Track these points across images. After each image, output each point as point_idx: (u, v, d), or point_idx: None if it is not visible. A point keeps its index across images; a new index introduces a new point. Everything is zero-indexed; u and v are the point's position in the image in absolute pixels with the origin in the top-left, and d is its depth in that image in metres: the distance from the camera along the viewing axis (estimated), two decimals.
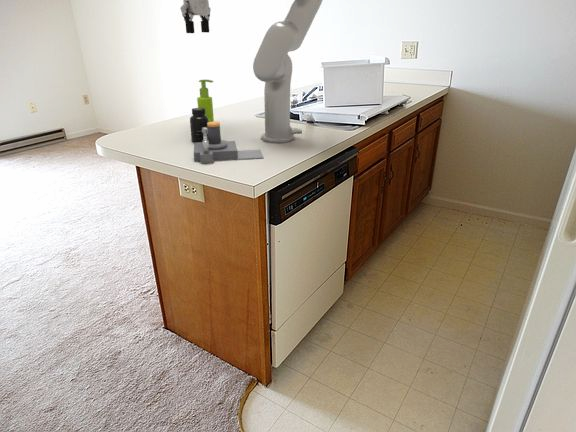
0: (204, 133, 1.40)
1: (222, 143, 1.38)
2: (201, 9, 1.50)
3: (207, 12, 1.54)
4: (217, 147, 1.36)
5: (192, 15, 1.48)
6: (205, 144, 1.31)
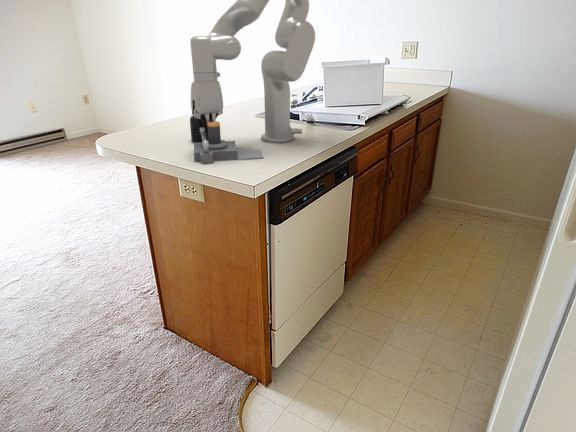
0: (202, 133, 1.40)
1: (222, 143, 1.38)
2: None
3: None
4: (217, 147, 1.36)
5: None
6: (205, 144, 1.31)
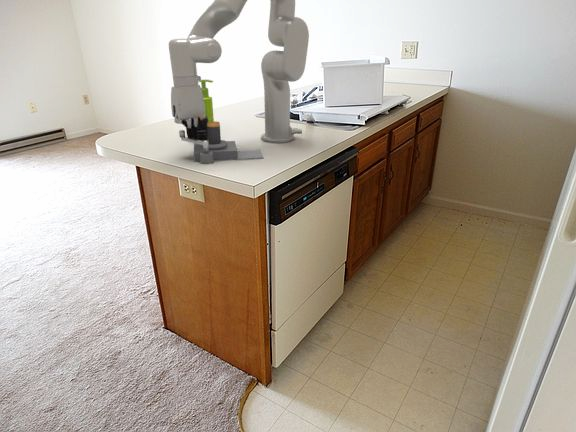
0: (183, 136, 1.36)
1: (222, 143, 1.38)
2: None
3: None
4: (217, 147, 1.36)
5: None
6: (207, 144, 1.31)
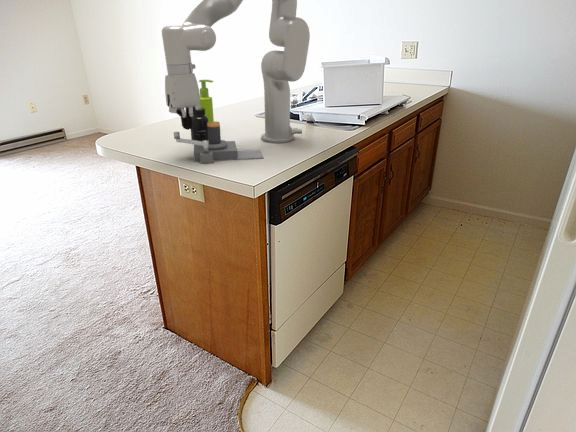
0: (178, 138, 1.35)
1: (222, 143, 1.38)
2: None
3: None
4: (217, 147, 1.36)
5: None
6: (207, 144, 1.31)
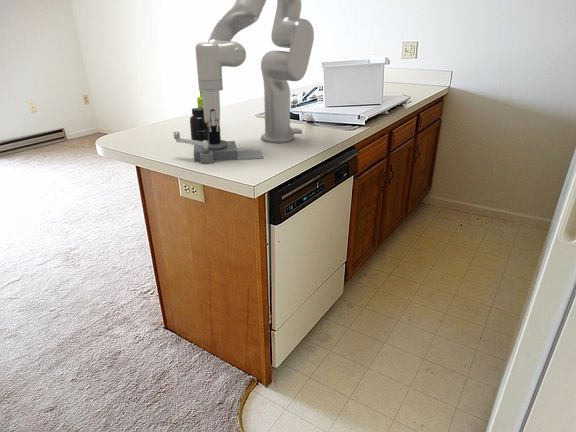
0: (178, 138, 1.35)
1: (222, 143, 1.38)
2: None
3: (204, 120, 1.32)
4: (217, 147, 1.36)
5: (209, 121, 1.38)
6: (207, 144, 1.31)
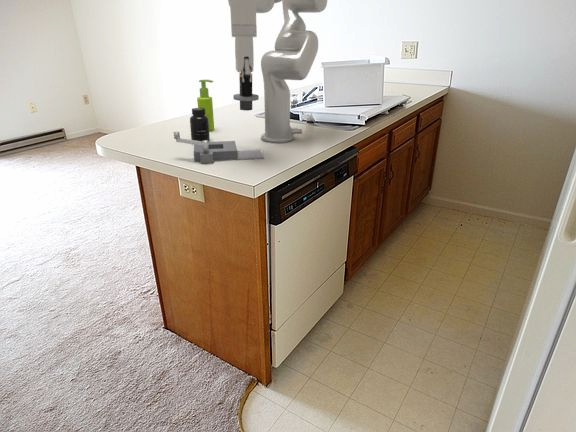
0: (178, 138, 1.35)
1: (254, 96, 1.32)
2: None
3: (237, 69, 1.25)
4: (249, 99, 1.29)
5: None
6: (207, 144, 1.31)
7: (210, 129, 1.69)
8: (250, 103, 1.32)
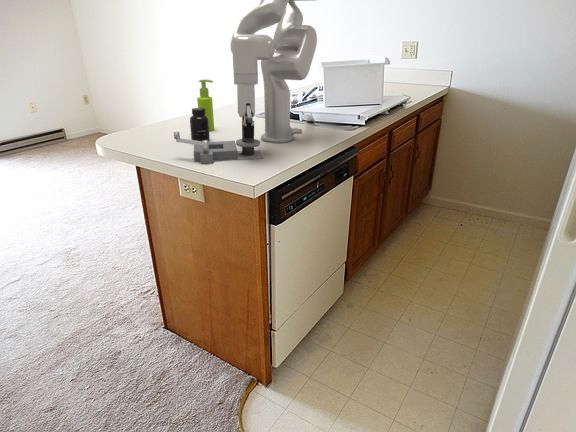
0: (178, 138, 1.35)
1: (255, 142, 1.38)
2: None
3: (239, 114, 1.31)
4: (251, 145, 1.36)
5: None
6: (207, 144, 1.31)
7: (210, 129, 1.69)
8: (252, 148, 1.39)
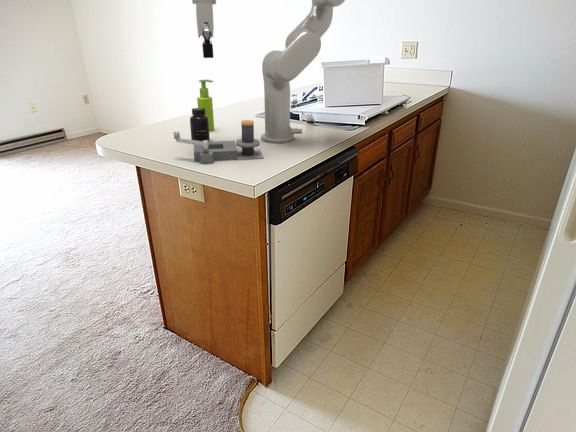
0: (178, 138, 1.35)
1: (255, 142, 1.38)
2: None
3: None
4: (251, 146, 1.36)
5: None
6: (207, 144, 1.31)
7: (210, 129, 1.69)
8: (252, 149, 1.39)
